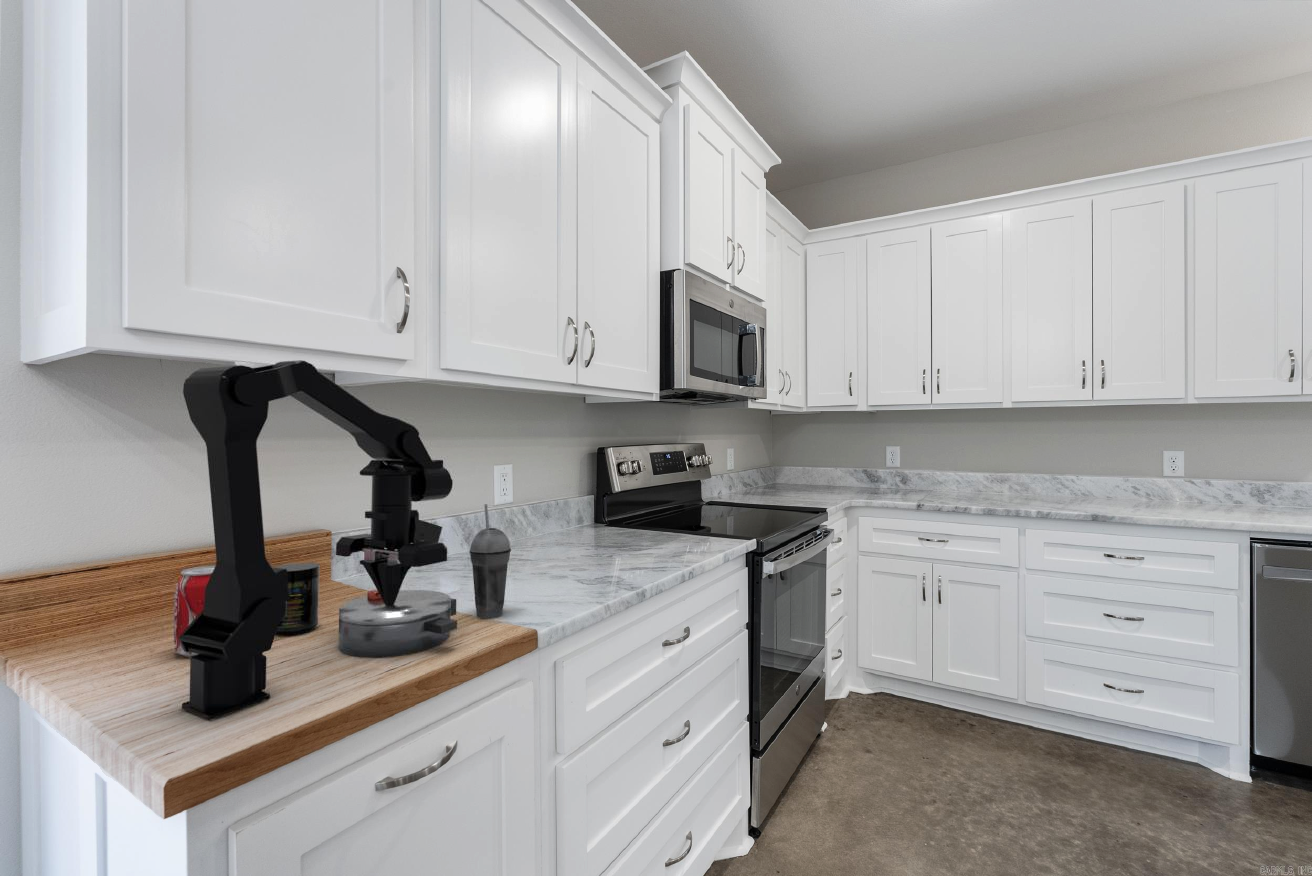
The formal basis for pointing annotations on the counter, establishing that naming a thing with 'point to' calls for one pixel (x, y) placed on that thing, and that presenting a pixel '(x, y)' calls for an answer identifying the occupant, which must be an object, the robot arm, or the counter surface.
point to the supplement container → (301, 599)
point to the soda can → (189, 601)
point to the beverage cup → (489, 570)
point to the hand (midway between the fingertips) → (389, 604)
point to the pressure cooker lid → (394, 608)
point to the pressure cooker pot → (396, 636)
